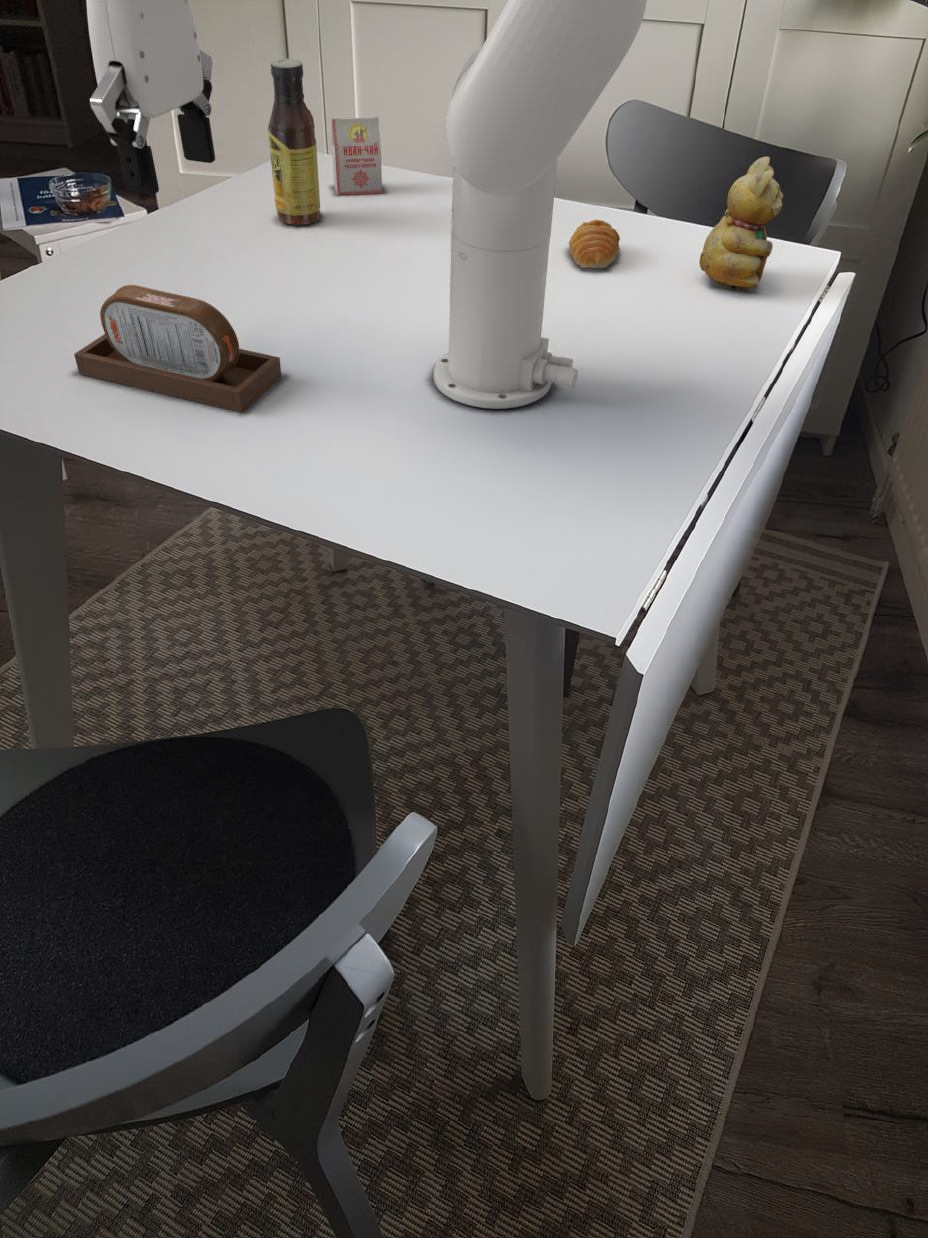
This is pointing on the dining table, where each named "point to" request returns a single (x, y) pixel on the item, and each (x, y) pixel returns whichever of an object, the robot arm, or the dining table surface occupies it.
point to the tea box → (356, 156)
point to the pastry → (594, 244)
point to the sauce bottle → (293, 147)
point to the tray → (185, 377)
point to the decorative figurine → (743, 230)
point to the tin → (169, 332)
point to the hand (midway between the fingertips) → (172, 175)
